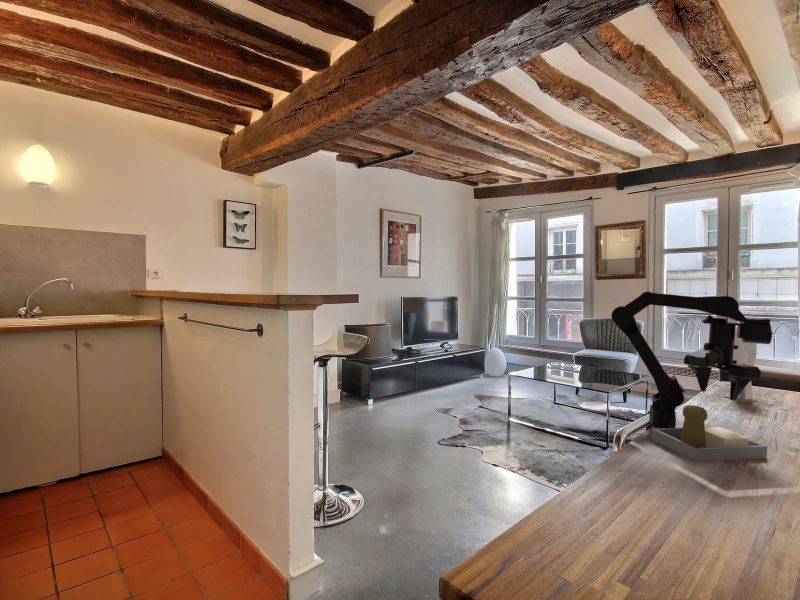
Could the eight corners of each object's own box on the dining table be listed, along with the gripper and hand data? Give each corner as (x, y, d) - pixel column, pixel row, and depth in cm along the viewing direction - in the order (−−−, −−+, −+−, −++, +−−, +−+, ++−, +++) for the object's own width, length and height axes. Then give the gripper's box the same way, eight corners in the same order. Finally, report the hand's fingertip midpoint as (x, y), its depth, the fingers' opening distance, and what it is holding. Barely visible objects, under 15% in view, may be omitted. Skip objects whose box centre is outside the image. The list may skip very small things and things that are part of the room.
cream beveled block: (696, 442, 114) (697, 427, 113) (718, 441, 115) (719, 426, 115) (723, 454, 106) (724, 439, 106) (747, 453, 107) (748, 438, 107)
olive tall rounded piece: (703, 447, 110) (706, 405, 110) (709, 455, 105) (712, 411, 104) (676, 442, 113) (679, 401, 112) (680, 450, 108) (683, 407, 107)
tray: (650, 443, 115) (651, 428, 115) (714, 440, 118) (715, 426, 118) (695, 466, 101) (696, 449, 101) (766, 462, 104) (767, 446, 104)
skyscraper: (720, 396, 168) (726, 325, 166) (737, 395, 170) (742, 325, 168) (742, 402, 159) (748, 327, 158) (759, 401, 161) (765, 327, 160)
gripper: (669, 335, 127) (666, 387, 128) (727, 345, 109) (723, 406, 109) (702, 336, 129) (698, 387, 130) (764, 346, 110) (759, 405, 111)
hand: (717, 395), depth 120 cm, fingers open, 9 cm apart
